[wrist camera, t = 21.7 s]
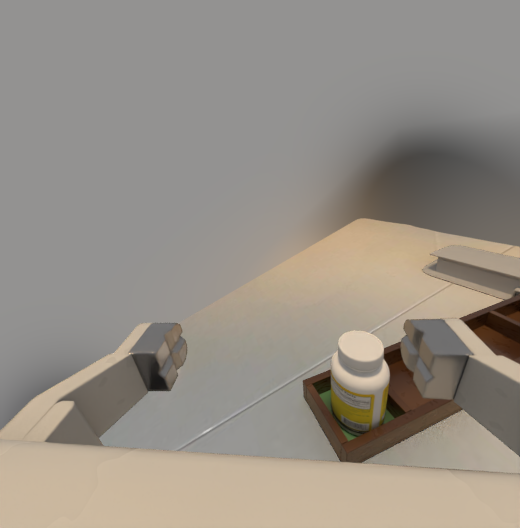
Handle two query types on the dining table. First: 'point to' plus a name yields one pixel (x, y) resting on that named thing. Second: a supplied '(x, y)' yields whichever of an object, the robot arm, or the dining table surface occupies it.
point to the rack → (411, 389)
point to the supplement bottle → (359, 382)
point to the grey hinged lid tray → (477, 270)
